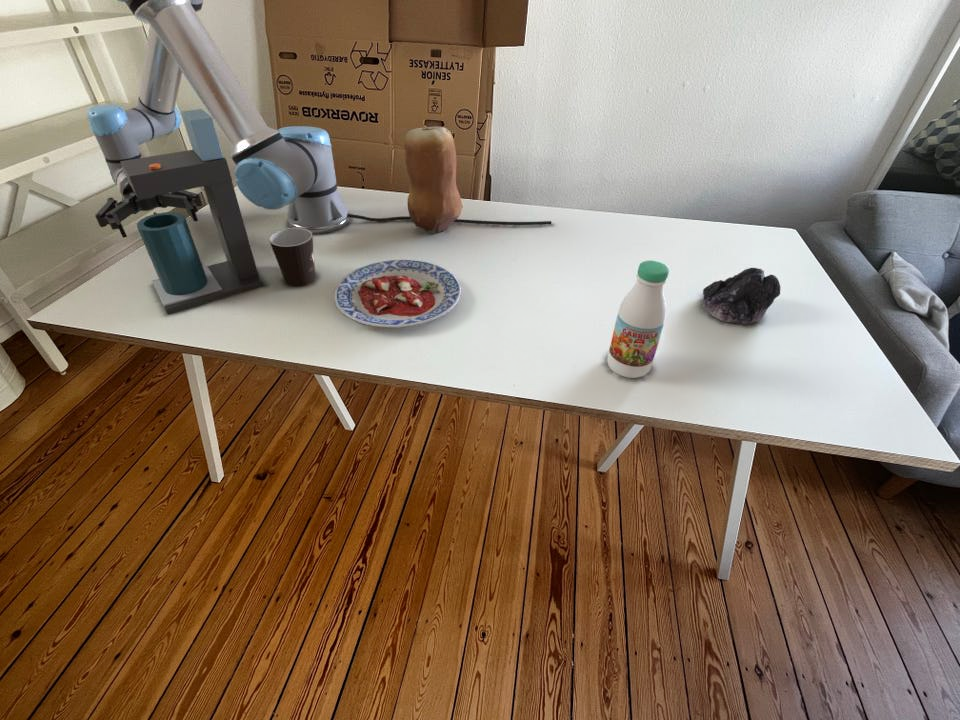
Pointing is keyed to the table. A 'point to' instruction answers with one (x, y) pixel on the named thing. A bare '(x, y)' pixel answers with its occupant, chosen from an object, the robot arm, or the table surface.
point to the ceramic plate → (397, 293)
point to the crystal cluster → (741, 296)
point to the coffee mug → (294, 255)
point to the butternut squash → (432, 178)
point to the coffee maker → (213, 175)
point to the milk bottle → (639, 322)
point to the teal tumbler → (172, 252)
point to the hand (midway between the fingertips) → (159, 222)
